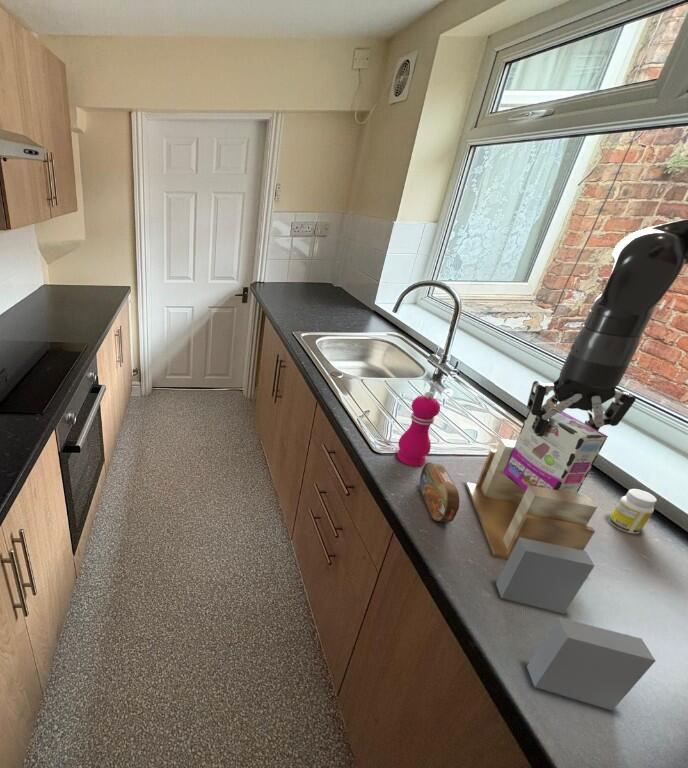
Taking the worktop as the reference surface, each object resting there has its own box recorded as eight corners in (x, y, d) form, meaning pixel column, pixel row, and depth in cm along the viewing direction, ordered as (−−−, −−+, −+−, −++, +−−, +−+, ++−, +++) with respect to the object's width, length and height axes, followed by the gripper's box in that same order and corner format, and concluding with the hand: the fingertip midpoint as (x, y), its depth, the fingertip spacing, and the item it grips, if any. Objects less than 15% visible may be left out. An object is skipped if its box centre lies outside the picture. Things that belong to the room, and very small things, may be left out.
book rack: (535, 498, 95) (562, 444, 88) (582, 577, 76) (620, 516, 70) (465, 485, 99) (485, 432, 92) (493, 556, 81) (521, 497, 74)
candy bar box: (571, 508, 78) (611, 436, 71) (546, 510, 78) (583, 438, 71) (523, 471, 88) (553, 404, 81) (501, 472, 88) (529, 405, 81)
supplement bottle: (633, 521, 88) (653, 491, 84) (644, 537, 84) (665, 506, 81) (604, 515, 90) (622, 484, 86) (613, 530, 86) (633, 499, 82)
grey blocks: (555, 599, 73) (585, 551, 67) (611, 711, 57) (655, 660, 52) (495, 584, 75) (519, 536, 70) (533, 688, 60) (567, 637, 55)
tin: (416, 482, 100) (425, 454, 96) (430, 484, 100) (440, 456, 96) (436, 529, 87) (447, 498, 83) (453, 531, 86) (465, 501, 83)
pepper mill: (424, 471, 104) (447, 402, 95) (393, 462, 107) (411, 394, 98) (426, 456, 109) (448, 389, 100) (396, 448, 113) (414, 382, 104)
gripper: (557, 358, 69) (521, 441, 77) (669, 369, 65) (619, 456, 72) (539, 342, 75) (507, 421, 83) (640, 351, 71) (597, 433, 78)
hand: (559, 437), depth 78 cm, fingers closed on candy bar box, 6 cm apart
